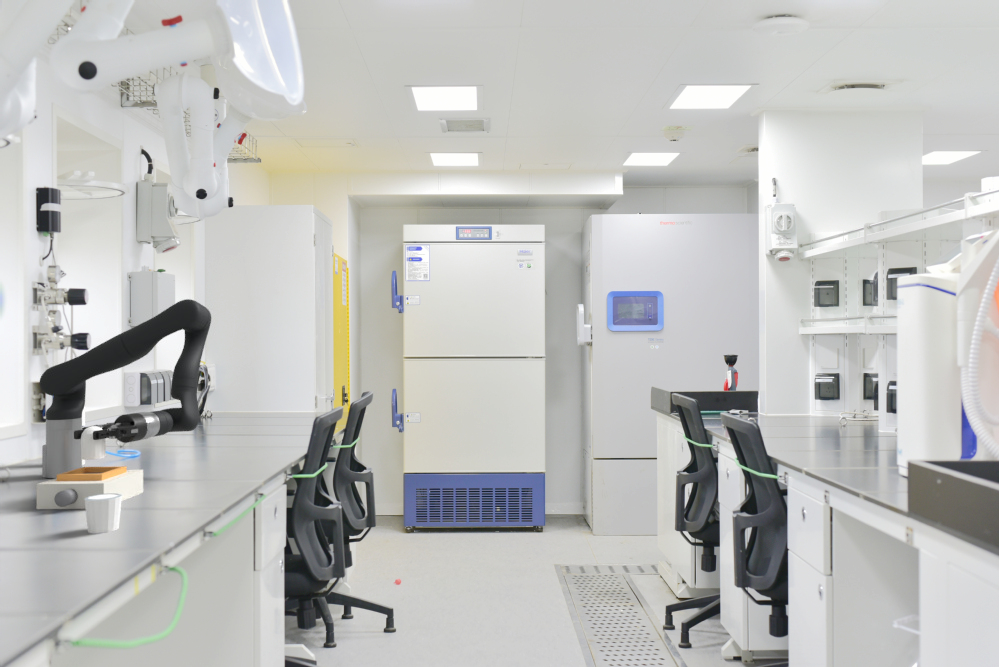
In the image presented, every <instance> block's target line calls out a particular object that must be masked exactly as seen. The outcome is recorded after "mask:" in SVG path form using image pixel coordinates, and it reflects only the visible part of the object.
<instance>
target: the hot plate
mask: <svg viewBox="0 0 999 667" xmlns="http://www.w3.org/2000/svg"><path fill="white" fill-rule="evenodd" d="M127 467H128V466H82V468H79V469H75V470H72V471H68V472H65V473H61V474H58V475H57V478H51V479H49V480H46V481H42V482H39V483H36V510H86V508H85V498H86V497H90V496H94V495H99V494H110V493H113V494H121V495H122V501H121V502H124V501H125V500H129V499H131V498H134V497H136V496H138V495H141V494H143V493H144V469H127Z"/></svg>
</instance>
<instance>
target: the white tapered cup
mask: <svg viewBox="0 0 999 667" xmlns="http://www.w3.org/2000/svg"><path fill="white" fill-rule="evenodd" d="M122 502H123V501H122V495H121V494H113V493H110V494H99V495H94V496H90V497H86V498H85V508H86V509H85V517H86V524H87V525H86V526H87V527H86V528H87V533H89V534H106V533H110V532H114V531H116V530H117V531H118V530H119V528H120V520H121V509H122Z"/></svg>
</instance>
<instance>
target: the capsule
mask: <svg viewBox="0 0 999 667" xmlns="http://www.w3.org/2000/svg"><path fill="white" fill-rule="evenodd" d="M91 426H92V427H89V426H87V427H88V428H86V429H85V430H84V431H83V433H82V435H81V459H82V460H85V461H90V460H100V459H105V458H106V457H107V455H106V452H107V451H106V450H107V449H106V438H105V439H99V440H93V432H94V431H97V430H103V429H102V427H101V428H100V427H97V426H94V425H91Z"/></svg>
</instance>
